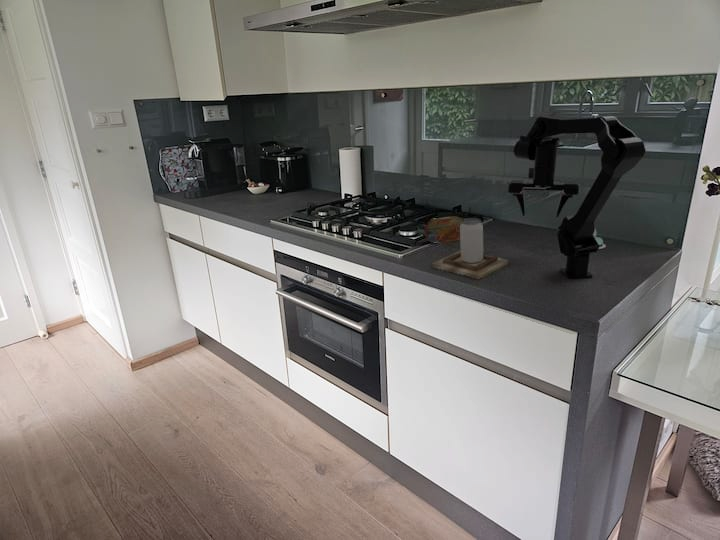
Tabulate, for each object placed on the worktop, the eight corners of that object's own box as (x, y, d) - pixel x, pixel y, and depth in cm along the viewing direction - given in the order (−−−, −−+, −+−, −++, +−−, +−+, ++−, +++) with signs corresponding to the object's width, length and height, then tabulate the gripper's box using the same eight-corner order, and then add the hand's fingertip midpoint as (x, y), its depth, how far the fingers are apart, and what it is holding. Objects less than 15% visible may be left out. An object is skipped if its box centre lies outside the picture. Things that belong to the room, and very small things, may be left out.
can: (487, 260, 143) (487, 221, 138) (469, 265, 141) (468, 226, 136) (474, 253, 149) (473, 216, 144) (456, 258, 146) (455, 220, 142)
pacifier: (609, 247, 155) (591, 242, 160) (612, 228, 153) (594, 224, 157) (596, 252, 151) (579, 247, 156) (600, 233, 149) (581, 228, 153)
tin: (426, 245, 164) (426, 220, 162) (423, 242, 167) (423, 218, 164) (467, 239, 168) (468, 216, 165) (463, 237, 171) (464, 214, 168)
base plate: (508, 264, 144) (508, 256, 143) (479, 279, 134) (479, 272, 133) (462, 253, 155) (462, 246, 154) (431, 267, 144) (431, 260, 144)
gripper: (579, 158, 142) (573, 211, 147) (512, 158, 148) (508, 208, 153) (581, 164, 132) (575, 220, 137) (509, 163, 138) (506, 217, 144)
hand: (540, 216), depth 143 cm, fingers open, 9 cm apart
